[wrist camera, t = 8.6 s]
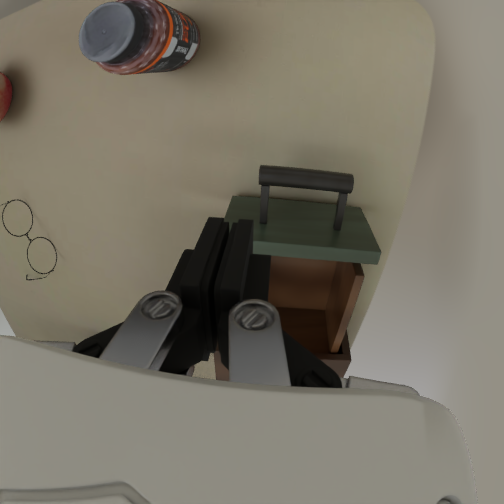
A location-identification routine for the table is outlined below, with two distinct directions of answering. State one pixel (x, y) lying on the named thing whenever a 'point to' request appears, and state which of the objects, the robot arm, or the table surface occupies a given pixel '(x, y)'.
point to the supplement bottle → (138, 37)
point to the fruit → (4, 95)
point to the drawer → (310, 253)
